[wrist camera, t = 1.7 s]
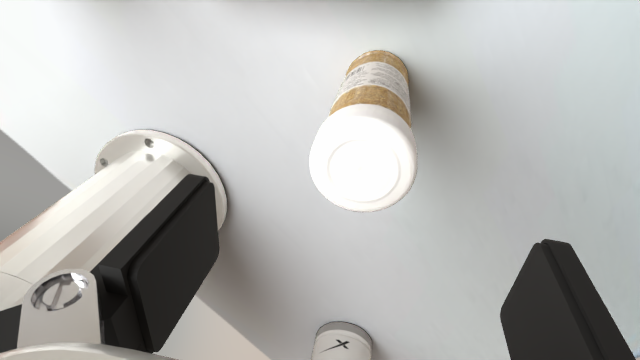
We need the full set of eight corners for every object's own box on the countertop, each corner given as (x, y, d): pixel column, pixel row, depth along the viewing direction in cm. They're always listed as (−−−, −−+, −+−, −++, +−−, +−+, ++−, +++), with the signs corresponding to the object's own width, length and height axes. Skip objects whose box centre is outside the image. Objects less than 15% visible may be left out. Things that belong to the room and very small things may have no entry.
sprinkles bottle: (365, 121, 29) (342, 230, 17) (333, 69, 27) (285, 151, 16) (421, 92, 27) (437, 191, 15) (390, 34, 25) (383, 97, 14)
